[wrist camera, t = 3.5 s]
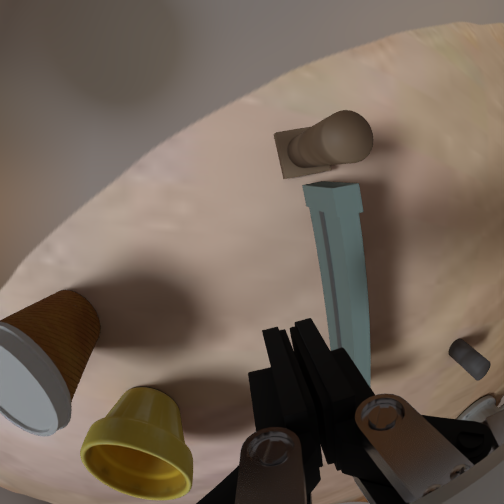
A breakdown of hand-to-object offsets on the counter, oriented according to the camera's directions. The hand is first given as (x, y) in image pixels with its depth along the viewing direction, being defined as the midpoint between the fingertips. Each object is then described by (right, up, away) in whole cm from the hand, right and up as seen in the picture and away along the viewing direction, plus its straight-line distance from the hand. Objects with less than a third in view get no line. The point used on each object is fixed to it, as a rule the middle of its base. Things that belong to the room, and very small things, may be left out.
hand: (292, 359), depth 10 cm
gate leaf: (+5, 0, +14) cm, 15 cm away
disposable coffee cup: (-19, -3, +15) cm, 24 cm away
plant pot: (-12, -13, +18) cm, 26 cm away
